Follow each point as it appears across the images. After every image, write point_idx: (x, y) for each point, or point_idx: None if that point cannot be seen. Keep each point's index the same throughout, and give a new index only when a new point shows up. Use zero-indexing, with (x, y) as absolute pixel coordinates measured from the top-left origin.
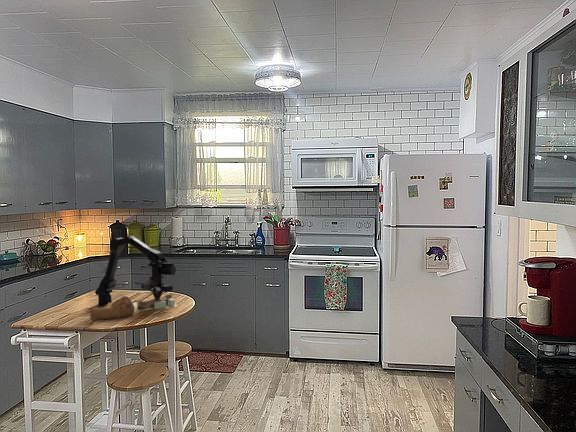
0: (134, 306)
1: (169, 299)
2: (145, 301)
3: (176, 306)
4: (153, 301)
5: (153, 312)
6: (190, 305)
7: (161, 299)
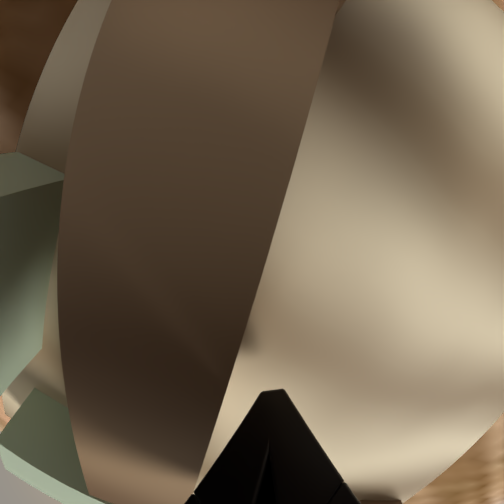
0: (499, 34)
1: (62, 484)
2: (263, 14)
3: (3, 403)
4: (61, 243)
5: (3, 98)
6: None
7: (126, 461)
